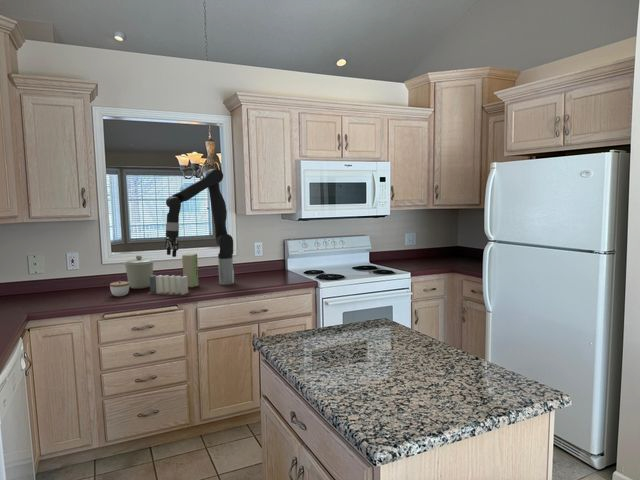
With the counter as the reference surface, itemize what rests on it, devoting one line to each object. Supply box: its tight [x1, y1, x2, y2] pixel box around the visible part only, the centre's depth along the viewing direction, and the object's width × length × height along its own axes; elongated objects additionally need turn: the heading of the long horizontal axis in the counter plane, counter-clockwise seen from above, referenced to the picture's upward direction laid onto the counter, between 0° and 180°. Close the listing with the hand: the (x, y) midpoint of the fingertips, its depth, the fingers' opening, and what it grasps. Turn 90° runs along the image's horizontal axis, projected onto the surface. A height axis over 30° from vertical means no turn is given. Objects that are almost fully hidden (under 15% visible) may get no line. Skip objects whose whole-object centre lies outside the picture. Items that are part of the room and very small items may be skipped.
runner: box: [147, 291, 190, 296], centre depth 272 cm, size 24×9×1 cm, turn 75°
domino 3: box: [162, 274, 170, 293], centre depth 272 cm, size 2×5×10 cm, turn 165°
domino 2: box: [156, 274, 164, 293], centre depth 273 cm, size 2×5×10 cm, turn 165°
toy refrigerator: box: [181, 253, 199, 288], centre depth 290 cm, size 8×7×21 cm
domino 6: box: [180, 275, 189, 295], centre depth 269 cm, size 2×5×10 cm, turn 165°
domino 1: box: [149, 274, 158, 293], centre depth 274 cm, size 2×5×10 cm, turn 165°
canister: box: [123, 254, 155, 290], centre depth 290 cm, size 18×18×21 cm
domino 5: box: [174, 275, 182, 294], centre depth 270 cm, size 2×5×10 cm, turn 165°
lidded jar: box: [109, 279, 130, 297], centre depth 268 cm, size 11×11×9 cm
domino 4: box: [168, 275, 176, 294], centre depth 271 cm, size 2×5×10 cm, turn 165°
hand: (171, 255), depth 277 cm, fingers open, 8 cm apart
